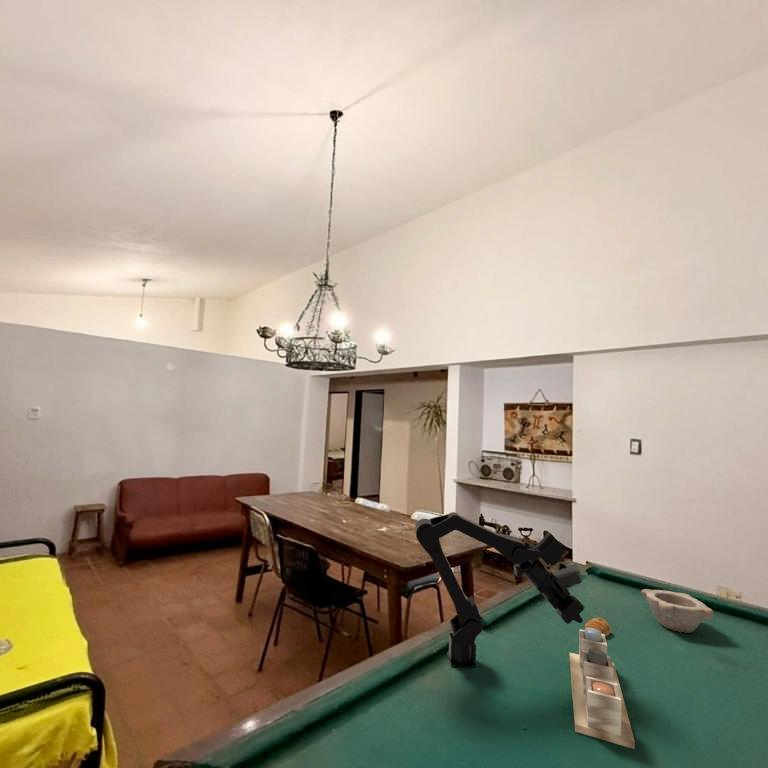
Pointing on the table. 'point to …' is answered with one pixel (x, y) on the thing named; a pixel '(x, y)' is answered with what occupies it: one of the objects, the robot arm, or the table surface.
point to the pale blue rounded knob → (592, 634)
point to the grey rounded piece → (597, 657)
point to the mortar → (677, 610)
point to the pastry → (599, 625)
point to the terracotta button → (602, 688)
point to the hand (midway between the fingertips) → (581, 621)
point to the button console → (598, 697)
